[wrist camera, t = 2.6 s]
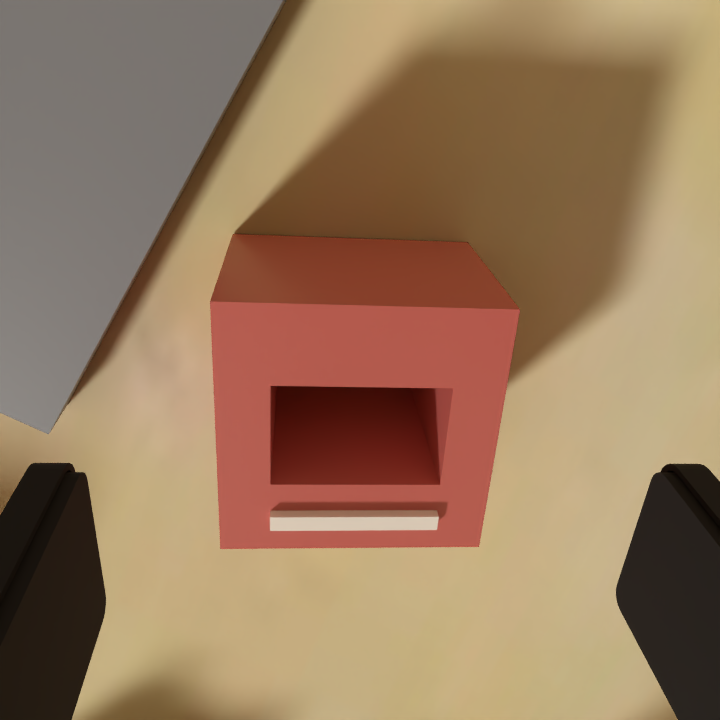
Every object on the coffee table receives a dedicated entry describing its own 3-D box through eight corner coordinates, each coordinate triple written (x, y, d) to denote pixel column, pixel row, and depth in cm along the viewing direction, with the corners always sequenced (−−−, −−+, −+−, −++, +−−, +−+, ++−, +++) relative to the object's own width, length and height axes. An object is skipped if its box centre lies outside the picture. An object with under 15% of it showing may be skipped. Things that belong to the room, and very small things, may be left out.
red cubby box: (467, 242, 19) (523, 314, 14) (441, 438, 21) (481, 553, 17) (232, 233, 18) (208, 305, 13) (237, 437, 21) (219, 556, 16)
